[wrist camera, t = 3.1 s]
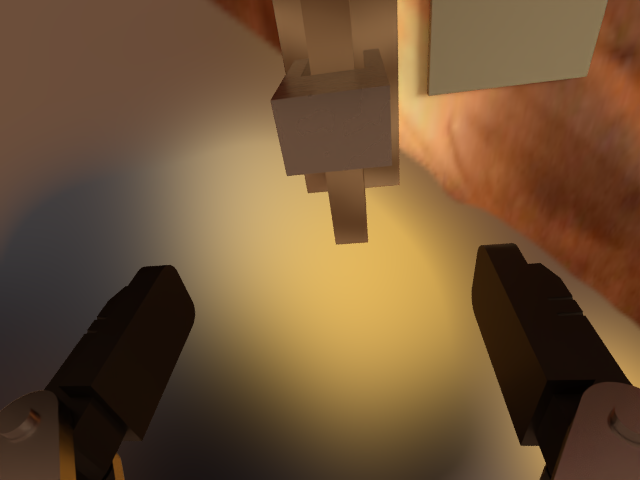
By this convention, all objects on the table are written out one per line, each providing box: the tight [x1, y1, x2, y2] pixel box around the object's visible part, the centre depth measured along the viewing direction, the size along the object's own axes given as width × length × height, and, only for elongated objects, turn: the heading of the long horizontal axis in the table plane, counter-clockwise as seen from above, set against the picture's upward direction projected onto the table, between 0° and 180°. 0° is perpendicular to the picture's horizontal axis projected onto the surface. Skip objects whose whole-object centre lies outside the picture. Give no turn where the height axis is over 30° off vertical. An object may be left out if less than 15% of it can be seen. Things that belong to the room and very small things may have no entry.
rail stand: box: [272, 0, 399, 244], centre depth 26 cm, size 22×9×11 cm, turn 8°
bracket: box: [271, 48, 392, 176], centre depth 22 cm, size 4×6×9 cm
